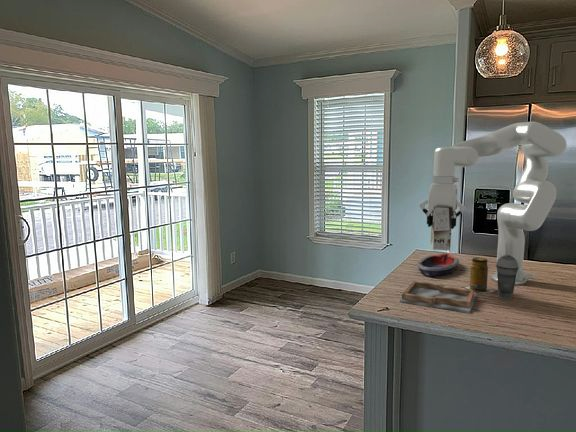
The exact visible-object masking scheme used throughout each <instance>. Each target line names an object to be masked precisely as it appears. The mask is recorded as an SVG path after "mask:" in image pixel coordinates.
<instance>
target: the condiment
mask: <svg viewBox="0 0 576 432" xmlns="http://www.w3.org/2000/svg"><path fill="white" fill-rule="evenodd" d="M471 260H472V262H471V265H470V273H469V274H470V276H469V286H466V287H465V286H464V288H463V289H466V290H473V291H474V292H476V293H479V294H482V295H483V294H489V293H495V290H494V289H491V288H488V274H489V273H488V272H489V267H488V259H487V258H485V257H473V258H472V259H471Z"/></svg>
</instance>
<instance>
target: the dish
mask: <svg viewBox="0 0 576 432" xmlns="http://www.w3.org/2000/svg"><path fill="white" fill-rule="evenodd" d="M459 262H460V259H459V258H458V257H457V256H455V255H453V254H451V253H449V252H448V253H447V252H445V253H436V254H431V255H426V256H424V257H422V258H421V259H420V260H419V261H418V262H417V263H416V264H417V265H416V266H417V267H418V271H419V272H420V273H421V274H422V275H426V276H430V277H431V276H432V277H433V276H434V277H436V276H443V275H446V274H450V273H452V272H454V271H455V270H456V268H457V267H458V264H459Z"/></svg>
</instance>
